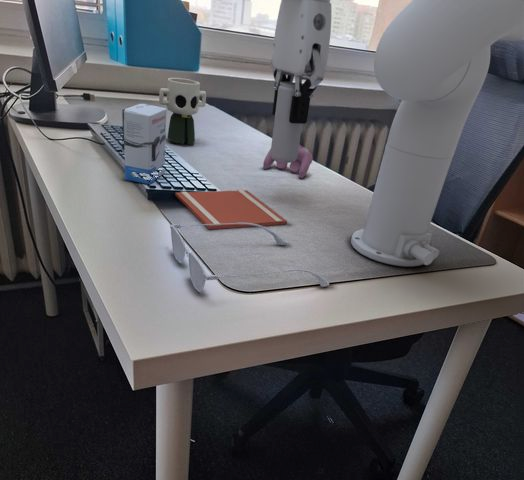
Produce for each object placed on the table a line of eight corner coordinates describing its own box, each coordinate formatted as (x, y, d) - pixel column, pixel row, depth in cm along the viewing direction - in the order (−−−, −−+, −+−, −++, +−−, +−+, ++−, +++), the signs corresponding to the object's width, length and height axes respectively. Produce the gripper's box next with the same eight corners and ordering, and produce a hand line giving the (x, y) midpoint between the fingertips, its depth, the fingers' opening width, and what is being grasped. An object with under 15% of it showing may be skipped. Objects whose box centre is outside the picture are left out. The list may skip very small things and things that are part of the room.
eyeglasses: (167, 247, 71) (168, 220, 69) (282, 242, 78) (286, 217, 76) (203, 303, 60) (205, 272, 58) (332, 290, 67) (339, 262, 65)
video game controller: (307, 183, 111) (317, 151, 110) (302, 177, 107) (313, 144, 106) (266, 172, 114) (276, 140, 113) (260, 166, 110) (270, 133, 109)
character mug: (163, 146, 114) (165, 82, 107) (153, 137, 119) (154, 75, 112) (208, 147, 119) (213, 85, 112) (197, 139, 124) (201, 79, 117)
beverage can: (264, 156, 90) (273, 81, 84) (284, 155, 93) (294, 81, 86) (282, 164, 87) (293, 86, 81) (302, 162, 90) (314, 87, 84)
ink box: (149, 185, 92) (150, 114, 85) (123, 180, 92) (122, 109, 85) (166, 173, 99) (168, 107, 92) (141, 168, 99) (142, 102, 92)
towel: (286, 224, 85) (287, 220, 85) (208, 229, 79) (209, 225, 78) (246, 193, 95) (247, 189, 95) (175, 195, 89) (175, 191, 89)
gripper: (360, -6, 72) (335, 131, 82) (298, -10, 84) (283, 109, 94) (316, -13, 69) (296, 130, 79) (258, -17, 81) (246, 108, 91)
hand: (289, 118), depth 86 cm, fingers closed on beverage can, 4 cm apart
